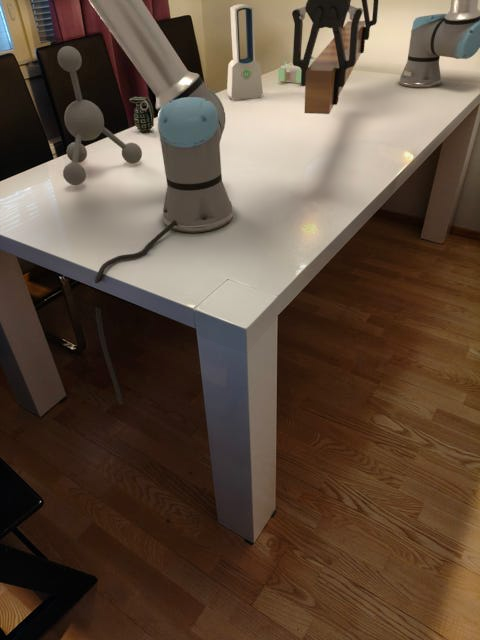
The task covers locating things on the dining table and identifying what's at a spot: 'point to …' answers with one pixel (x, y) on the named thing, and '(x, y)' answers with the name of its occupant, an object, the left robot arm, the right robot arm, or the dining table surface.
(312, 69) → the post
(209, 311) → the dining table surface
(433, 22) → the right robot arm
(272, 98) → the dining table surface
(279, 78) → the decorative block
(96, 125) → the molecular model
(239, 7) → the electronic device
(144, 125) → the grenade
